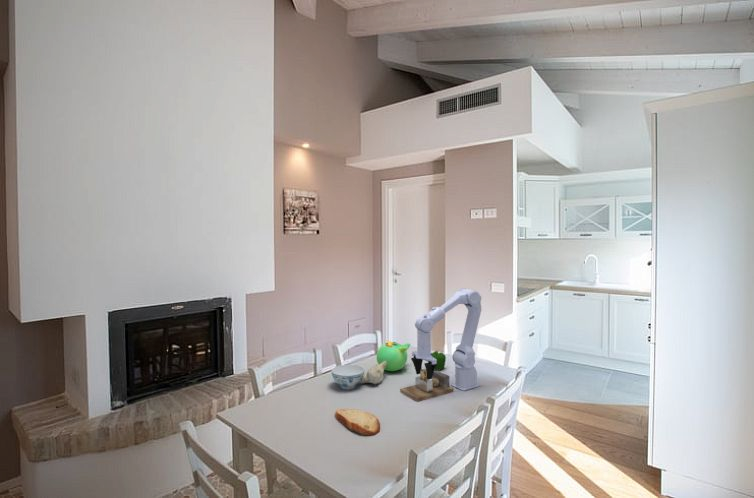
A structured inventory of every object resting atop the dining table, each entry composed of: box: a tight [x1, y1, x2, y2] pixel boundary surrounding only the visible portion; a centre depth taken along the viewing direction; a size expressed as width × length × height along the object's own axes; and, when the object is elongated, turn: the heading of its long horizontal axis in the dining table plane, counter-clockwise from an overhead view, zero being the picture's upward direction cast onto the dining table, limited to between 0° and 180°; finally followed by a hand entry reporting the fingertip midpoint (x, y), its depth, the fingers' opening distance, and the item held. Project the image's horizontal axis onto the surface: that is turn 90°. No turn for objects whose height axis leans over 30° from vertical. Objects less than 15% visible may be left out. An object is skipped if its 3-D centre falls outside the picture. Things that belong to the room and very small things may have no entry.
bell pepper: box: [431, 350, 447, 371], centre depth 198 cm, size 8×8×10 cm
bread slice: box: [334, 408, 381, 437], centre depth 139 cm, size 18×18×4 cm
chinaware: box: [331, 364, 365, 390], centre depth 174 cm, size 15×15×8 cm
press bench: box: [399, 370, 454, 403], centre depth 168 cm, size 20×12×6 cm, turn 122°
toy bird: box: [376, 340, 411, 372], centre depth 197 cm, size 18×17×15 cm
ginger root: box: [358, 361, 387, 385], centre depth 180 cm, size 15×7×15 cm
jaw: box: [414, 368, 433, 392], centre depth 167 cm, size 3×8×8 cm, turn 32°
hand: (424, 376), depth 167 cm, fingers open, 7 cm apart
